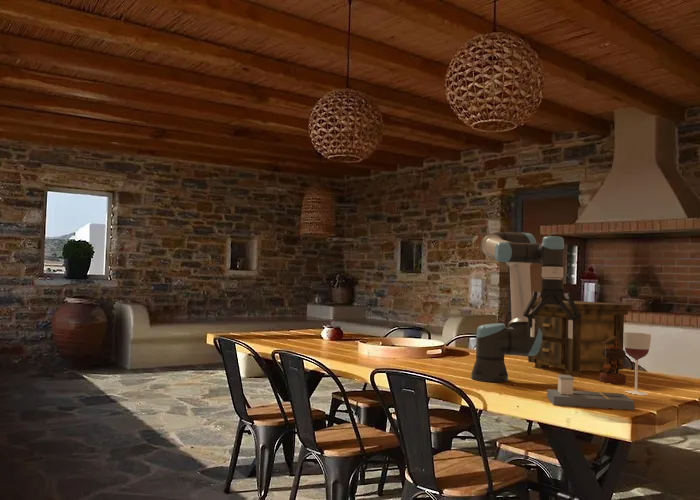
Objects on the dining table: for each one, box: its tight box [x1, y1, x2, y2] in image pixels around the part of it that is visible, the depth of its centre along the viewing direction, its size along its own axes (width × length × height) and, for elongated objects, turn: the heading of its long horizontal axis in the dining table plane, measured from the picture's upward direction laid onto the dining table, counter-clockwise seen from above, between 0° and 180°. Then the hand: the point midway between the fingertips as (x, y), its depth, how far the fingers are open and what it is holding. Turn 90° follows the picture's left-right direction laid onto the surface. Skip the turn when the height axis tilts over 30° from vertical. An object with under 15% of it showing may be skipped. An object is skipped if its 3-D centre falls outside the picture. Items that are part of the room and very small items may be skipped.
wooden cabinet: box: [527, 299, 633, 376], centre depth 302 cm, size 35×35×33 cm
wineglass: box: [623, 332, 652, 396], centre depth 245 cm, size 9×10×23 cm
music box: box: [599, 336, 627, 385], centre depth 270 cm, size 15×11×20 cm
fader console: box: [546, 388, 635, 411], centre depth 220 cm, size 26×14×3 cm, turn 82°
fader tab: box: [557, 374, 575, 395], centre depth 221 cm, size 4×6×6 cm
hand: (551, 337), depth 227 cm, fingers open, 13 cm apart
